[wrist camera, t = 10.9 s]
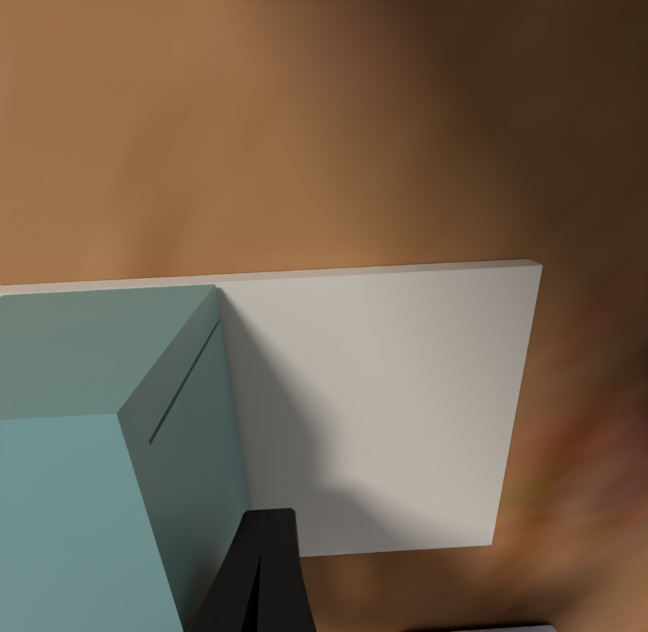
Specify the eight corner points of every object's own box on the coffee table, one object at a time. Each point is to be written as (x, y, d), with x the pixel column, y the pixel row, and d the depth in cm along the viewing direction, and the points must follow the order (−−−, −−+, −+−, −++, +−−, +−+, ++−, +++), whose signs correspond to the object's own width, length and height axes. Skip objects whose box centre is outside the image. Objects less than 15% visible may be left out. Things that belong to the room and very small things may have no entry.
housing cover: (259, 564, 15) (232, 790, 10) (112, 573, 15) (0, 807, 10) (215, 284, 11) (116, 414, 5) (4, 295, 11) (-322, 438, 5)
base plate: (483, 527, 17) (533, 633, 13) (68, 553, 16) (-3, 669, 13) (528, 258, 12) (626, 303, 8) (-50, 288, 12) (-216, 347, 8)
